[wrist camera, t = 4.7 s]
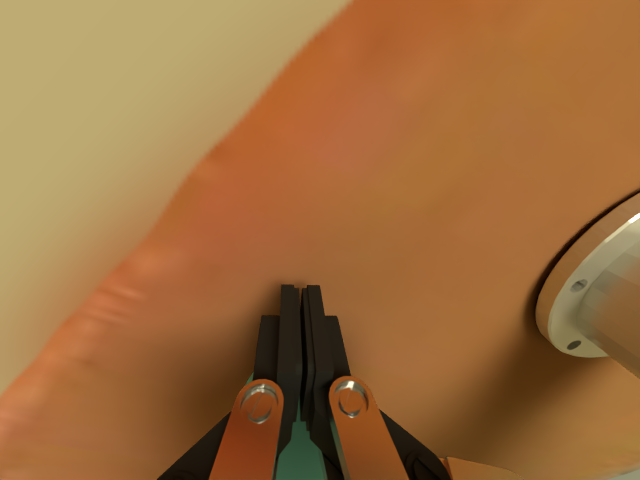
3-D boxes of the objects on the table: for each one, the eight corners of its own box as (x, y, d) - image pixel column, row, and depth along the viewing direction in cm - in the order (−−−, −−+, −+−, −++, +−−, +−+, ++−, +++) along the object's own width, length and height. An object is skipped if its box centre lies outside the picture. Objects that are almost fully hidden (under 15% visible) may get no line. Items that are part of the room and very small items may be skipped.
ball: (351, 319, 14) (390, 452, 8) (340, 383, 16) (365, 513, 11) (241, 324, 13) (207, 473, 8) (250, 390, 16) (230, 532, 10)
